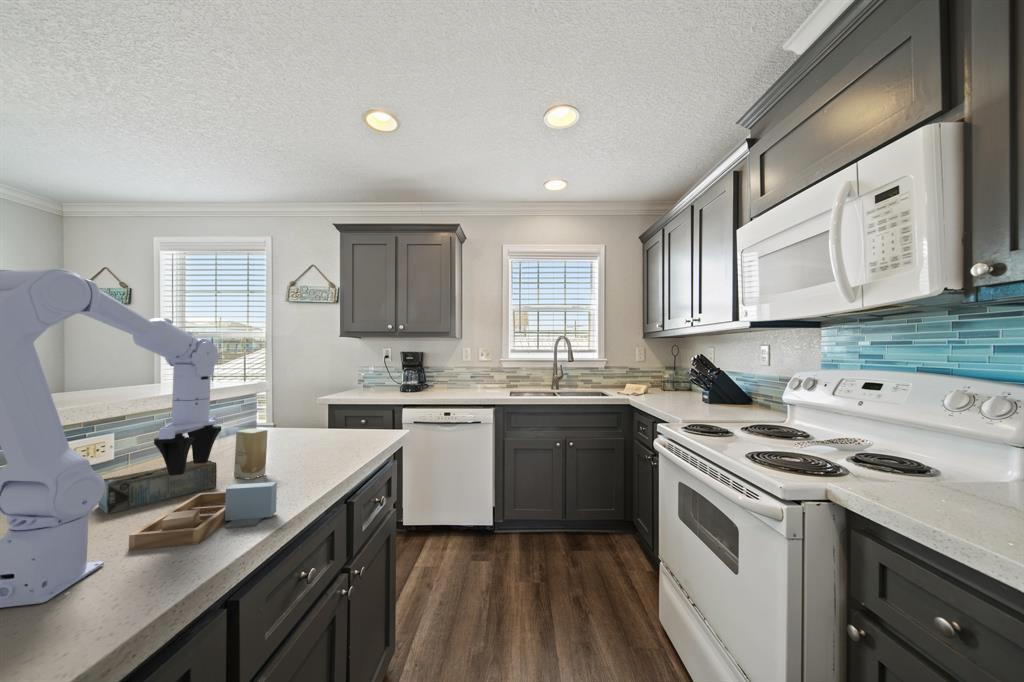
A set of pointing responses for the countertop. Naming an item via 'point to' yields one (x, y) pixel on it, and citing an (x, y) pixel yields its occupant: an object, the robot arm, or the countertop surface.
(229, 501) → the pale blue block
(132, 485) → the beverage carton
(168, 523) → the offcut upper
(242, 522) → the mat
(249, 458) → the skincare box
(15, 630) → the countertop surface
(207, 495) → the tray
